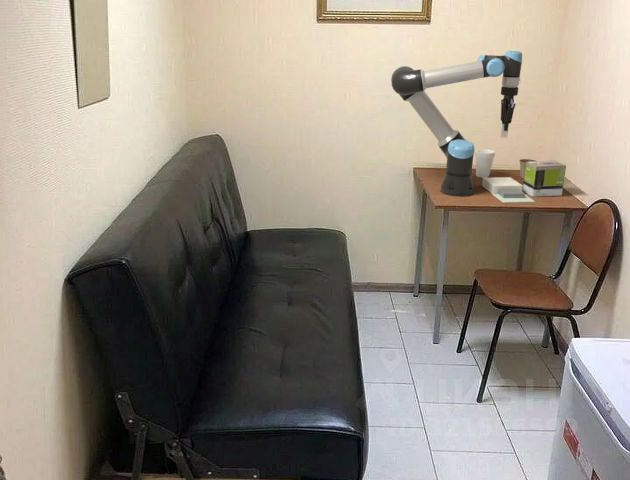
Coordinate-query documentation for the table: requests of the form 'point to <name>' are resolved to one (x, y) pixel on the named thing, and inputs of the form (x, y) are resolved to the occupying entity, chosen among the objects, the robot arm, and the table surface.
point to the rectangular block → (511, 193)
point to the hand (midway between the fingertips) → (503, 137)
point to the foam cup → (484, 162)
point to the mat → (514, 199)
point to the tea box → (544, 178)
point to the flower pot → (523, 166)
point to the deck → (500, 184)
